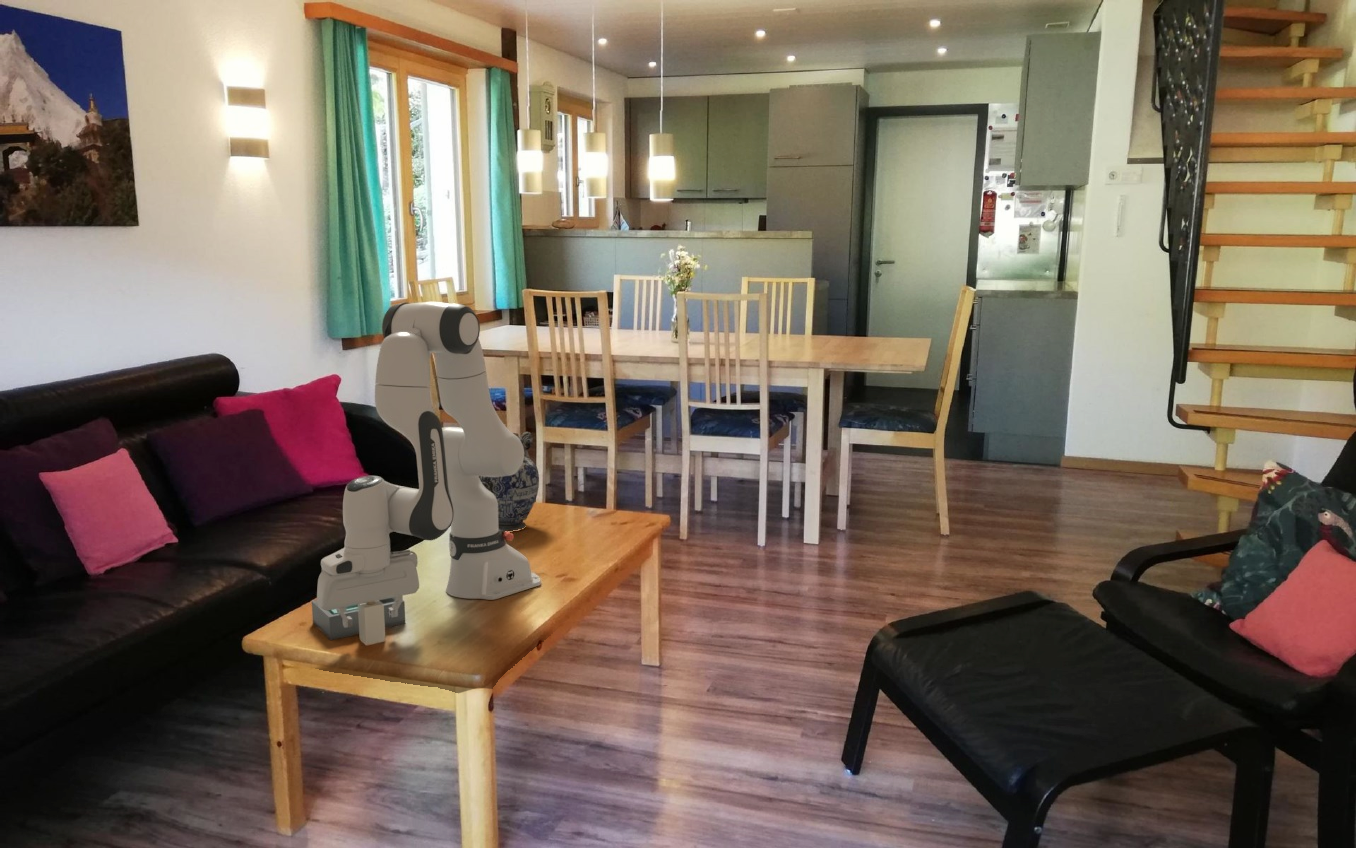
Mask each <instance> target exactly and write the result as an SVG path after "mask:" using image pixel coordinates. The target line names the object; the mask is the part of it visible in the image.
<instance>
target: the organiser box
mask: <svg viewBox="0 0 1356 848" xmlns="http://www.w3.org/2000/svg"><path fill="white" fill-rule="evenodd" d="M379 601H380V602H382V603H383V604H384V621H385V629H386V628H390V627H394V626H399V625H404V624H406V608H405V606H406V605H405V600H403V601H402V603H401V605H400V606H399V608H398V617H393V618H390V617H389V616H388V608H390V607H392V605H393V603H394V599H393V598H388V599H383V600H379ZM311 610H312V611H311V612H312V615H311V616H312V624H313V625H315V626H316V628H317V629H319V631H320V632H321V633H323V634H324V636H325V637H326V638H328V639H329V641H334V640H337V639H342V638H347V637H350V636H351V637H352V636H356V635H359V619H358V609H357V610H353V611H348V612H344V614H345V615H346V616H350V617H351V618H352V621H353V622H352V624H353V626H351V627H347V628H345V627H344V626H343V620H342V617H341V616H340V615H339V614H334V615H332V614H331V613H330V612H329V611H325V610H324V609H322V608H321V607H320V606H319V605H318V602H317V599H316V600H315V599H314V600H311Z"/></svg>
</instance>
